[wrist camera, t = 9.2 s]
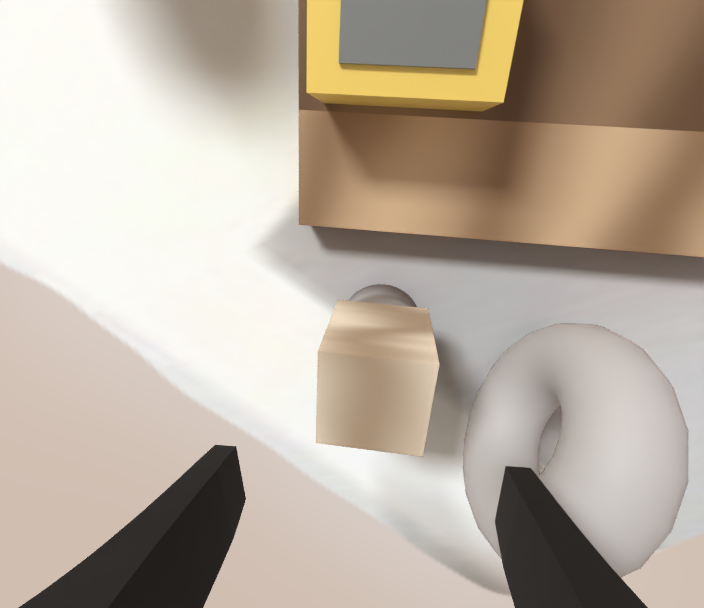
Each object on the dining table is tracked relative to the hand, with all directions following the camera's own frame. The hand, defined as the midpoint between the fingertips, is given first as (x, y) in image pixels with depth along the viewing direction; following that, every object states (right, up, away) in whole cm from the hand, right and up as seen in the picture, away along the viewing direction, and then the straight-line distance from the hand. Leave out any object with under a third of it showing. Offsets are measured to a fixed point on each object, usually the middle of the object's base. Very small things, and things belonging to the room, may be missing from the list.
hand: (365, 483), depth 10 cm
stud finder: (+2, +15, +3) cm, 15 cm away
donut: (+8, +1, +10) cm, 13 cm away
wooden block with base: (+1, +4, +9) cm, 10 cm away
